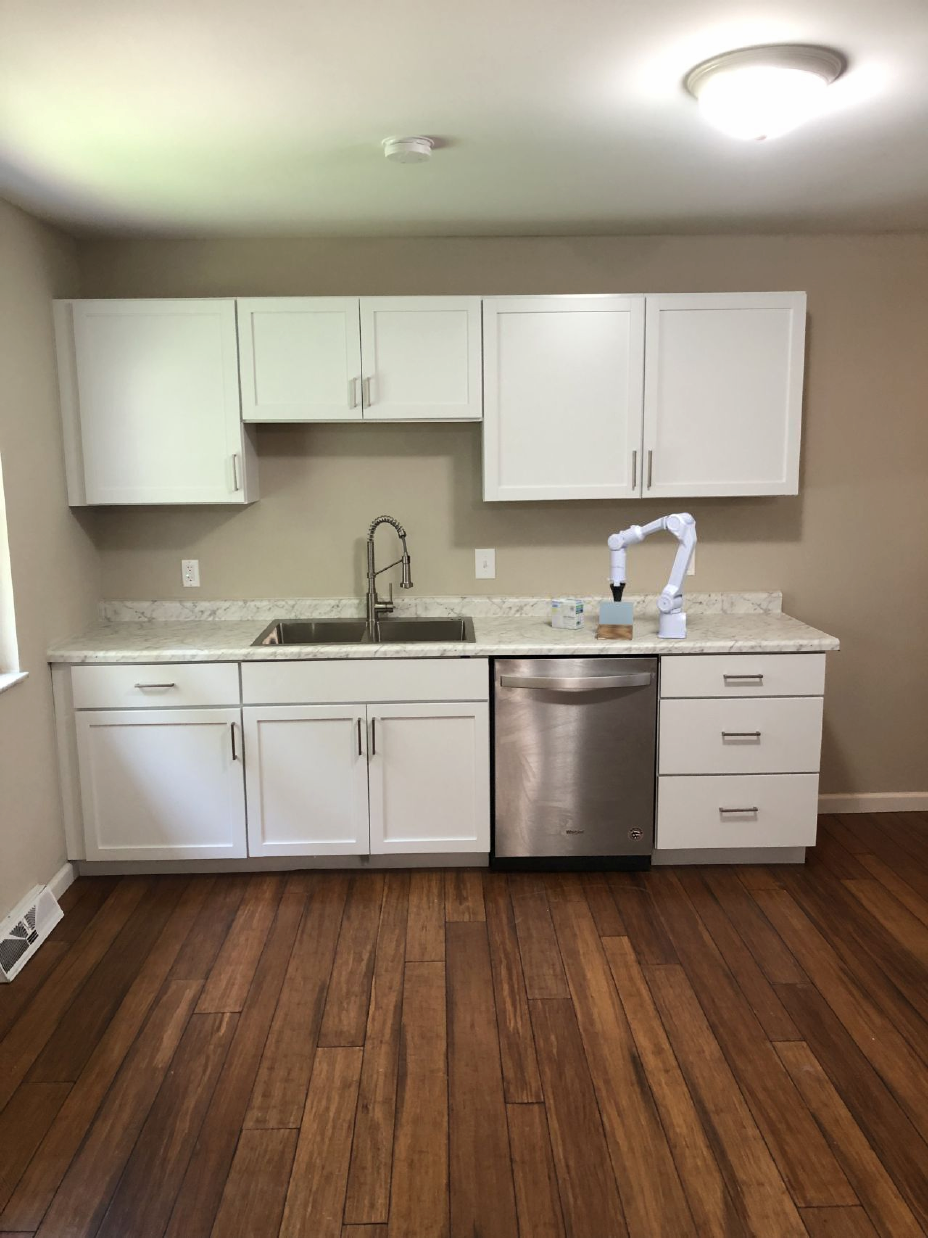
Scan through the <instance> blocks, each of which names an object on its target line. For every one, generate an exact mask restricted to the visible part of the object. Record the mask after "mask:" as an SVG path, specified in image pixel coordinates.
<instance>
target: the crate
mask: <svg viewBox="0 0 928 1238" xmlns="http://www.w3.org/2000/svg"><path fill="white" fill-rule="evenodd" d="M633 625H634V624H633ZM633 625H613V624H599V623H598V626H597V629H596V630H597V633H596V634H597V636H596V637H597V638H605V639H629V640H628V641H632V640H633V636H634V635H633V634H634V633H633V631H634V630H633V628H634V626H633ZM597 638H596V639H597ZM605 639H604V640H605Z"/></svg>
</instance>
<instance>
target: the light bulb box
mask: <svg viewBox="0 0 928 1238" xmlns="http://www.w3.org/2000/svg"><path fill="white" fill-rule="evenodd" d="M584 602H585V601H584V599H577V598H575V599H574V598H561V597H559V598H555V599H551V628H555V629H566V630H579V629H581V628H584V626H585V625H584V623H585V621H584V617H585V616H584V615H585V614H584V611H585V610H584Z"/></svg>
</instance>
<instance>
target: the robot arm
mask: <svg viewBox="0 0 928 1238" xmlns="http://www.w3.org/2000/svg"><path fill="white" fill-rule="evenodd" d="M696 523H697V522H696V521H695V519H694V517H693V516H692V515H691V514H690V513H688V512H682V513H673V514H670V515H666V516H663V517H659V518H658V519H656V520H654V521H651V522H649V523H647V524H645V525H643V526H640V525H635V524H633V525H630V528H628V529H625V530H620V531H619V533H613V534H612V535H610V536H609V537H608V539H607V545H608V547H609V549H610V551H609V553H610V554H609V557H610V562H609V563H610V564H609V565H610V566H609V567H610V570H609V577H607V578H606V581H610V582H611V583H610V584H609V589H610V590H611V593H612V600H613V602H622V598H623V592H624V589H625V588H626V585H627V583H626V581H627V548H629V546H632V545H634V544H637V543H639V542H642V541H643V540H644V539H645V537H646V535H647V536H648V535H649V534H652V533H655V532H657V531H660V530H662V529H663V530H668V531H670V533H672V534H673V535H674V536H675V537H676V538H677V540H678V542H679V545H678V549H677V552H676V556H675V559H674V563H673V564H672V569H671V572H670V574H669V578H668V581H667V584H666V586H665V587H664V588H663V589H662V592H661V595H659V597H658V598H657V600H656V607H657V609H658V610H659V624H658V625H659V627H658V629H659V631H658V633H657V637H658V638H659V639H660V638H661V639H686V634H687V627H686V625H687V621H686V620H687V613H686V612H683V611H682V612H681V609H682V607H683V605H684V594H685V590H684V589H683V586H684V583H685V580H686V577H687V574H688V571H689V568H690V564H691V562H692V558H693V555H694V551H695V548H696V546H697V542H698V538H697V532H696ZM658 638H657V639H658Z"/></svg>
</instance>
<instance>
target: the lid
mask: <svg viewBox="0 0 928 1238" xmlns="http://www.w3.org/2000/svg"><path fill="white" fill-rule="evenodd" d="M598 615H599V616H598V618H599V619H598V625H599V624H604V625H634V601H621V602H614V601H604V600H603V601H599V614H598Z"/></svg>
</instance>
